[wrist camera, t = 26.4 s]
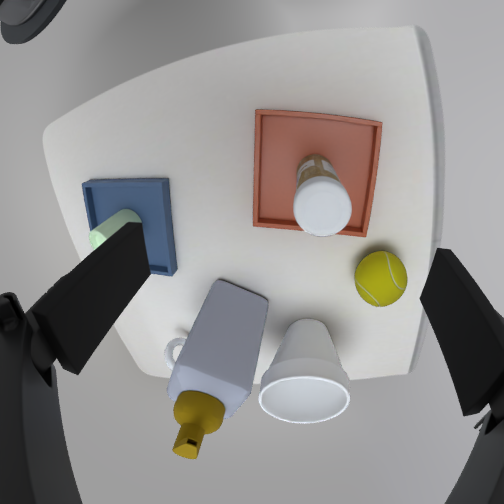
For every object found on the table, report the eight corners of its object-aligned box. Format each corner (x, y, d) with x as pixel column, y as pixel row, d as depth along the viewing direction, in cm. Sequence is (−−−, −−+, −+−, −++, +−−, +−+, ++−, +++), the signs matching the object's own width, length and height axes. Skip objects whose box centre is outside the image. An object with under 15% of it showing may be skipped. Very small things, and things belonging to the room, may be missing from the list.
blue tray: (89, 179, 39) (81, 183, 37) (168, 178, 37) (161, 182, 35) (104, 259, 45) (98, 265, 44) (177, 269, 43) (172, 276, 42)
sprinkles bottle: (293, 156, 32) (287, 186, 21) (331, 151, 31) (349, 177, 19) (300, 193, 34) (298, 242, 23) (337, 188, 33) (355, 235, 21)
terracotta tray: (258, 109, 31) (255, 109, 29) (377, 121, 29) (382, 122, 27) (255, 220, 38) (252, 226, 36) (363, 230, 36) (366, 237, 34)
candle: (131, 244, 42) (102, 272, 35) (110, 221, 41) (78, 244, 34) (149, 227, 40) (119, 254, 33) (127, 201, 39) (94, 224, 32)
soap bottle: (272, 298, 43) (240, 458, 21) (250, 335, 47) (214, 474, 26) (216, 274, 43) (146, 423, 21) (201, 314, 47) (141, 447, 25)
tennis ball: (381, 232, 35) (395, 258, 29) (407, 266, 37) (422, 295, 31) (342, 263, 38) (347, 293, 32) (369, 293, 40) (378, 325, 34)
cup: (317, 366, 49) (314, 430, 37) (257, 341, 48) (242, 407, 36) (359, 324, 43) (370, 393, 31) (294, 292, 42) (288, 363, 30)
